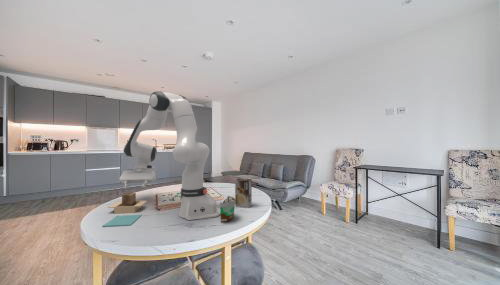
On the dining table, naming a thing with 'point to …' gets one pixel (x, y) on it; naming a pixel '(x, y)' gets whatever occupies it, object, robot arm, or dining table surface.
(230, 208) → the food container
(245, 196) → the coffee box
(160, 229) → the dining table surface
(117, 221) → the board
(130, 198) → the block
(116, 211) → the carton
